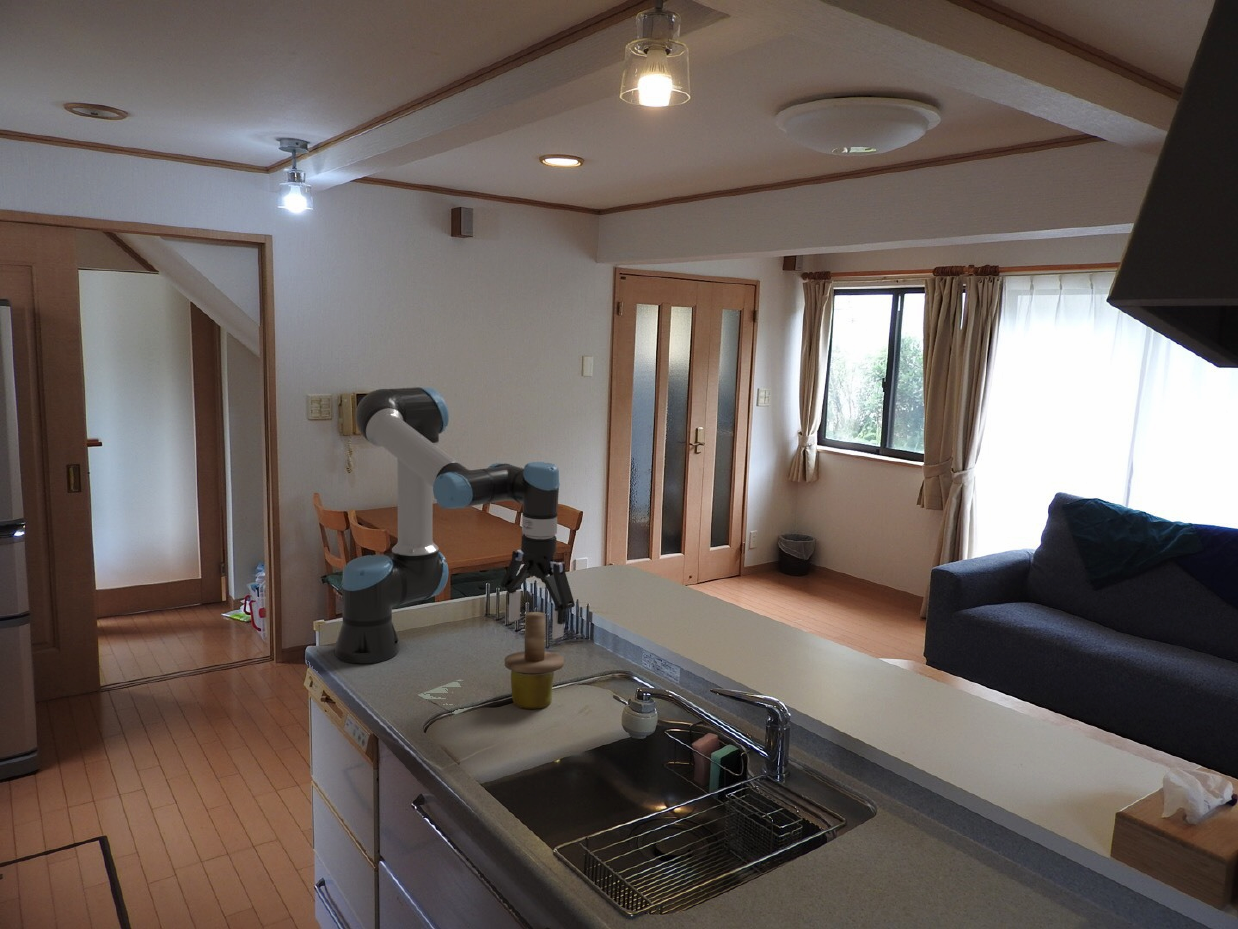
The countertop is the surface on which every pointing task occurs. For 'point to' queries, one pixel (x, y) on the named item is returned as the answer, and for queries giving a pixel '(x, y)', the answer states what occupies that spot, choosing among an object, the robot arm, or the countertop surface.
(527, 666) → the wooden peg stand
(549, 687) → the mug
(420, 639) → the countertop surface
